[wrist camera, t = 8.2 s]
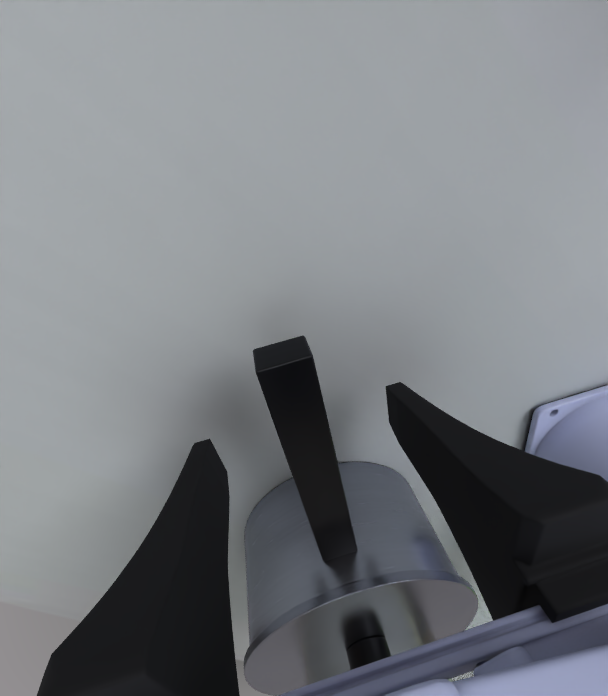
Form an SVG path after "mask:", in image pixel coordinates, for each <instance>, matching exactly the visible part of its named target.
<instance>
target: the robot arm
mask: <svg viewBox="0 0 608 696" xmlns="http://www.w3.org/2000/svg"><path fill="white" fill-rule="evenodd" d="M386 394H387V404H388V415H389V423H390V425H391V427H392V429H393V431H394V434H395V436H396V438H397V440H398V442H399V444H400V445H401V447H402V449H403V450H404V452H405V453H406V455H407V457H408V458H409V460H410V461H411V463H412V464H413V466H414V467H415V469H416V471H417V472H418V474H419V475H420V477H421V478H422V480H423V481H424V483H425V484H426V486H427V488H428V489H429V491H430V492H431V494H432V496H433V497H434V499H435V501H436V503H437V504H438V506H439V508H440V510H441V512H442V514H443V516H444V518H445V520H446V522H447V524H448V526H449V528H450V530H451V532H452V534H453V536H454V538H455V540H456V542H457V544H458V546H459V548H460V550H461V552H462V554H463V556H464V558H465V560H466V562H467V564H468V566H469V568H470V571H471V573H472V575H473V577H474V579H475V581H476V583H477V585H478V588H479V590H480V592H481V594H482V596H483V599H484V601H485V603H486V605H487V607H488V610H489V612H490V614H491V616H492V619H493V621H491V622H488V623H485V624H482V625H480V626H477V627H474V628H471V629H468V630H465V631H462V632H459V633H456V634H454V635H451V636H448V637H445V638H442V639H439V640H436V641H433V642H430V643H428V644H425V645H422V646H419V647H416V648H413V649H410V650H407V651H405V652H402V653H399V654H396V655H393V656H390V657H387V658H384V659H381V660H379V661H376V662H373V663H370V664H367V665H364V666H361V667H358V668H355V669H353V670H350V671H347V672H344V673H341V674H338V675H335V676H332V677H329V678H327V679H324V680H321V681H318V682H315V683H312V684H309V685H306V686H303V687H301V688H298V689H295V690H292V691H289V692H286V693H283V694H280V695H278V696H608V385H606V386H603V387H600V388H596V389H593V390H590V391H587V392H583V393H580V394H577V395H574V396H571V397H567V398H564V399H561V400H558V401H554V402H551V403H548V404H545V405H542V406H539V407H538V408H537V409H536V410H535V411H534V413H533V417H532V421H531V426H530V430H529V435H528V439H527V444H526V448H525V452H524V451H522V450H519V449H517V448H514V447H512V446H509V445H507V444H504V443H502V442H500V441H497V440H495V439H493V438H491V437H489V436H487V435H485V434H483V433H480V432H478V431H477V430H475V429H473V428H471V427H469V426H467V425H465V424H464V423H462V422H460V421H458V420H457V419H455V418H453V417H452V416H450V415H448V414H447V413H445V412H444V411H442V410H440V409H439V408H437V407H436V406H434V405H433V404H431V403H430V402H428V401H427V400H425V399H424V398H422V397H421V396H419V395H418V394H417V393H415V392H414V391H412V390H411V389H410V388H408V387H407V386H406V385H404V384H403V383H401V382H399V383H395V384H392V385H389V386H386ZM228 533H229V486H228V476H227V471H226V469H225V467H224V465H223V463H222V461H221V459H220V457H219V455H218V453H217V451H216V449H215V448H214V446H213V444H212V442H211V440H210V439H207V440H204V441H200V442H197V443H194V445H193V447H192V449H191V451H190V453H189V456H188V458H187V460H186V462H185V465H184V467H183V469H182V471H181V473H180V476H179V478H178V480H177V482H176V484H175V486H174V488H173V490H172V492H171V494H170V496H169V498H168V500H167V502H166V503H165V505H164V507H163V509H162V511H161V512H160V514H159V516H158V518H157V520H156V521H155V523H154V525H153V526H152V528H151V530H150V531H149V533H148V535H147V536H146V538H145V539H144V541H143V542H142V544H141V546H140V547H139V549H138V550H137V551H136V553H135V554H134V556H133V557H132V559H131V560H130V561H129V563H128V564H127V566H126V567H125V568H124V570H123V571H122V572H121V574H120V575H119V577H118V578H117V579H116V581H115V582H114V583H113V584H112V586H111V587H110V588H109V589H108V591H107V592H106V593H105V594H104V596H103V597H102V598H101V599H100V601H99V602H98V603H97V604H96V605H95V607H94V608H93V609H92V610H91V611H90V612H89V614H88V615H87V616H86V617H85V618H84V619H83V620H82V622H81V623H80V624H79V625H78V626H77V627H76V628H75V629H74V630H73V631H72V633H71V634H70V635H69V636H68V637H67V638H66V639H65V640H64V641H63V643H62V644H61V645H60V646H59V647H58V648H57V649H56V650H55V651H54V652H53V653H52V655H51V658H50V660H49V663H48V665H47V668H46V670H45V673H44V676H43V679H42V682H41V685H40V688H39V691H38V694H37V696H239V688H238V679H237V671H236V662H235V652H234V642H233V632H232V620H231V608H230V595H229V579H228ZM473 670H474V672H473V674H474V677H469V678H465V679H461V680H457V681H453V682H450V681H449V680H448V679H451V678H453V677H456V676H459V675H462V674H465V673H467V672H470V671H473Z"/></svg>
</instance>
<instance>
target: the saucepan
mask: <svg viewBox="0 0 608 696" xmlns="http://www.w3.org/2000/svg"><path fill="white" fill-rule="evenodd" d="M253 355H254V363H255V371H256V374H257V377H258V380H259V383H260V386H261V389H262V391H263V394H264V397H265V400H266V403H267V405H268V408H269V411H270V414H271V417H272V419H273V422H274V425H275V428H276V431H277V434H278V436H279V439H280V442H281V445H282V448H283V450H284V453H285V456H286V459H287V462H288V465H289V467H290V470H291V473H292V476H293V477H292V478H291V479H289V480H287V481H285V482H284V483H282V484H280V485H279V486H277V487H276V488H275V489H273V490H272V491H271V492H269V493H268V494H267V495H266V496H265V497H264V498H263V499H262V500H261V501H260V502H259V503H258V504H257V505H256V507H255V508H254V509H253V511H252V512H251V514H250V516H249V518H248V520H247V523H246V527H245V535H244V538H245V559H246V580H247V601H248V622H249V644H250V646H249V648H248V649H247V652H246V655H245V657H244V675H245V678H246V681H247V682H248V684H249V685H250V686H251V687H252V688H254V689H255V690H257V691H260V692H262V693H265V694H268V695H273V696H278V695H280V694H283V693H286V692H289V691H292V690H295V689H298V688H301V687H303V686H306V685H309V684H312V683H315V682H318V681H321V680H324V679H327V678H329V677H332V676H335V675H338V674H341V673H344V672H347V671H350V670H353V669H355V668H358V667H361V666H364V665H367V664H370V663H373V662H376V661H379V660H381V659H384V658H387V657H390V656H393V655H396V654H399V653H402V652H405V651H407V650H410V649H413V648H416V647H419V646H422V645H425V644H428V643H430V642H433V641H436V640H439V639H442V638H445V637H448V636H451V635H454V634H456V633H459V632H462V631H464V630H465V629H466V628H467V627H468V625H469V624H470V623H471V622H472V620H473V618H474V617H475V615H476V612H477V609H478V599H477V595H476V593H475V591H474V590H473V588H472V586H471V585H470V584H469V582H467V581H466V580H465V579H463V578H462V577H460V576H459V575H458V573H457V572H456V570H455V568H454V566H453V564H452V562H451V561H450V559H449V557H448V555H447V553H446V551H445V549H444V548H443V546H442V544H441V542H440V540H439V538H438V537H437V535H436V533H435V531H434V529H433V527H432V526H431V524H430V522H429V520H428V518H427V516H426V514H425V513H424V511H423V509H422V507H421V505H420V503H419V502H418V500H417V498H416V496H415V494H414V492H413V490H412V489H411V487H410V485H409V483H408V482H407V481H406V479H405V478H404V477H403V476H402V475H401V474H399V473H398V472H396V471H395V470H393V469H391V468H388V467H386V466H383V465H379V464H375V463H368V462H343V463H338V462H337V458H336V454H335V449H334V445H333V441H332V437H331V432H330V428H329V424H328V419H327V415H326V411H325V406H324V402H323V398H322V393H321V389H320V385H319V380H318V376H317V372H316V368H315V363H314V359H313V355H312V353H311V350H310V348H309V346H308V343H307V341H306V338H305V336H300V337H296V338H292V339H289V340H285V341H282V342H278V343H275V344H271V345H268V346H264V347H261V348H257V349H254V350H253Z"/></svg>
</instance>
